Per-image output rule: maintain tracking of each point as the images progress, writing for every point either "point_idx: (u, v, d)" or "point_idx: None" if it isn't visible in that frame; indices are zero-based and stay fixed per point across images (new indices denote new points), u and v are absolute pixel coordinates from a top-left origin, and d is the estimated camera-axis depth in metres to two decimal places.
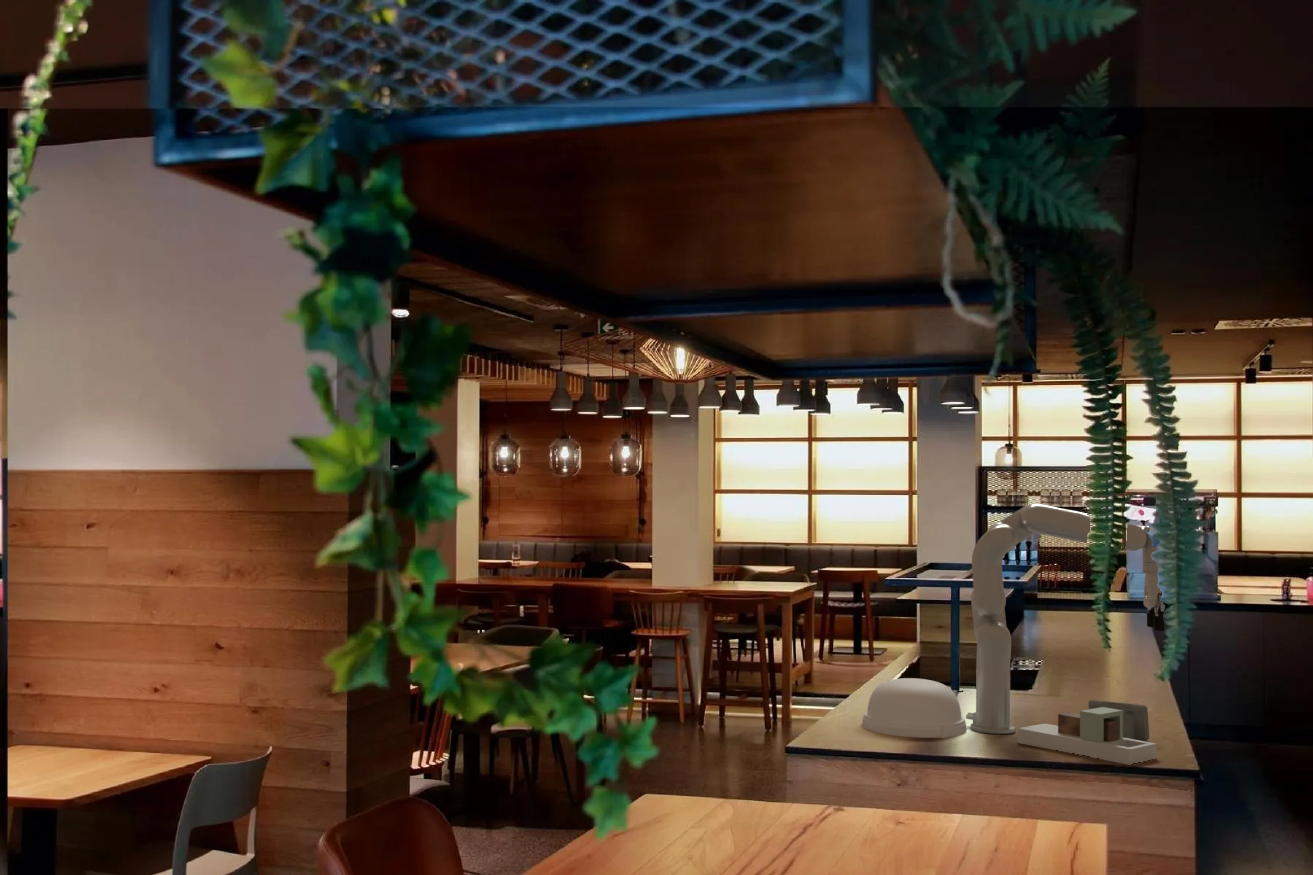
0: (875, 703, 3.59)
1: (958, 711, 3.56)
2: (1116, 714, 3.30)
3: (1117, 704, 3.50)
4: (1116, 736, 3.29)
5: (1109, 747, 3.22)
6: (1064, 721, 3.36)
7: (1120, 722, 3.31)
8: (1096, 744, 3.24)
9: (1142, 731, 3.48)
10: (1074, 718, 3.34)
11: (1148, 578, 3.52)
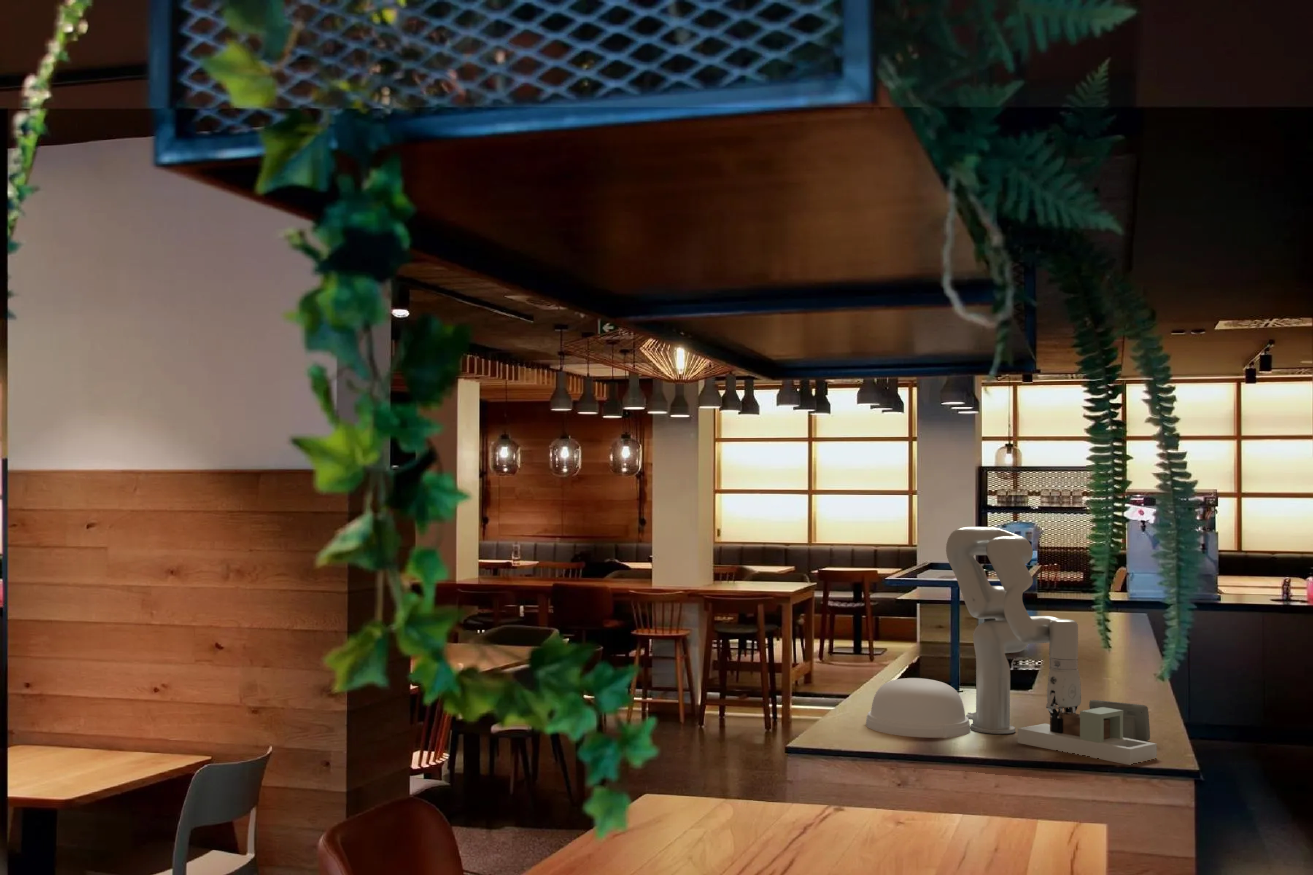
0: (878, 702, 3.59)
1: (961, 711, 3.56)
2: (1116, 714, 3.30)
3: (1118, 704, 3.50)
4: (1107, 734, 3.31)
5: (1109, 747, 3.22)
6: None
7: (1120, 722, 3.31)
8: (1096, 744, 3.24)
9: (1143, 731, 3.48)
10: (1066, 717, 3.36)
11: (1076, 675, 3.39)
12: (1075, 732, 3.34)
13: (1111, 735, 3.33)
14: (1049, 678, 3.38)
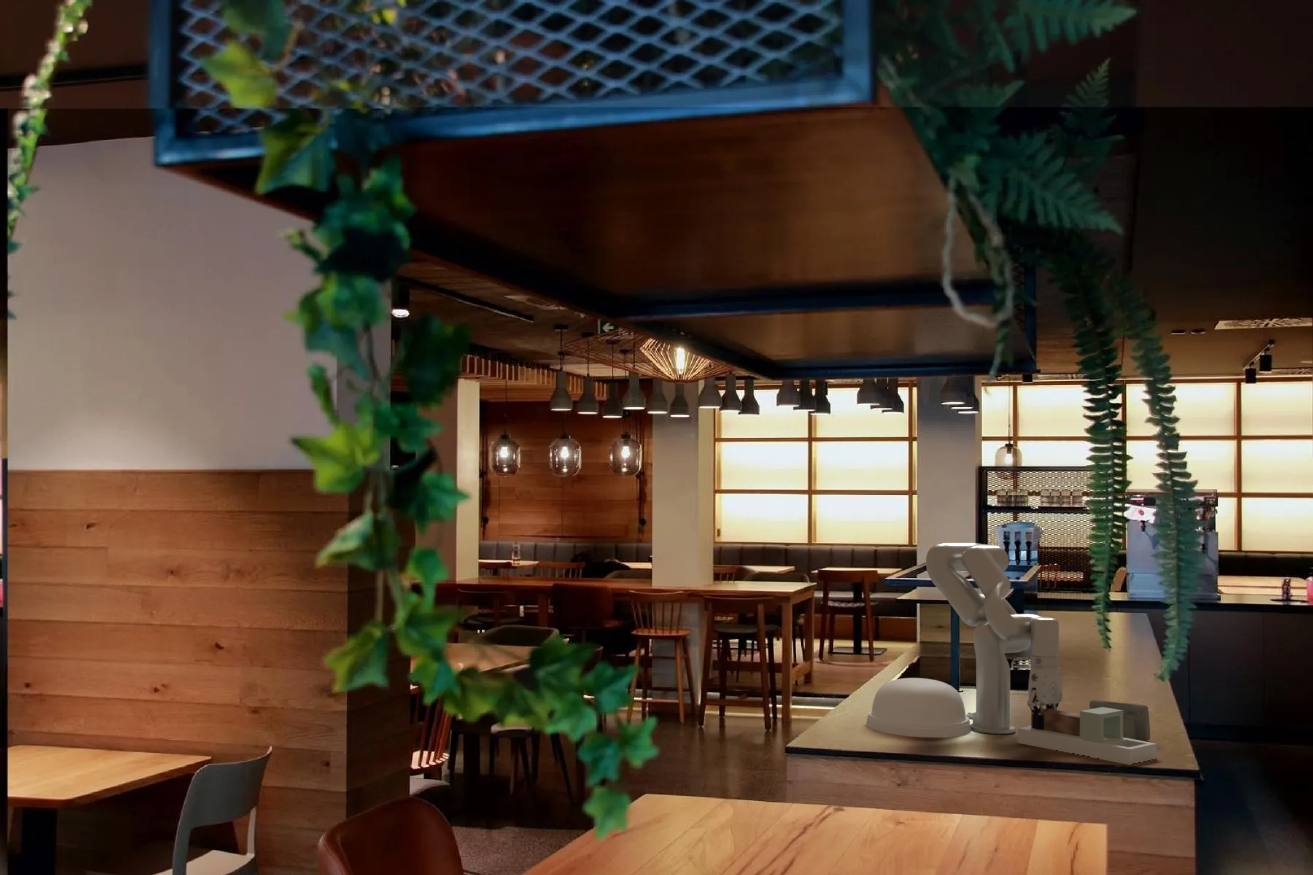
0: (878, 702, 3.60)
1: (962, 711, 3.56)
2: (1116, 714, 3.30)
3: (1118, 704, 3.50)
4: None
5: (1109, 747, 3.22)
6: None
7: (1120, 722, 3.31)
8: (1096, 744, 3.24)
9: (1143, 731, 3.48)
10: (1047, 713, 3.41)
11: (1057, 672, 3.44)
12: (1056, 728, 3.38)
13: (1111, 735, 3.33)
14: (1030, 675, 3.43)
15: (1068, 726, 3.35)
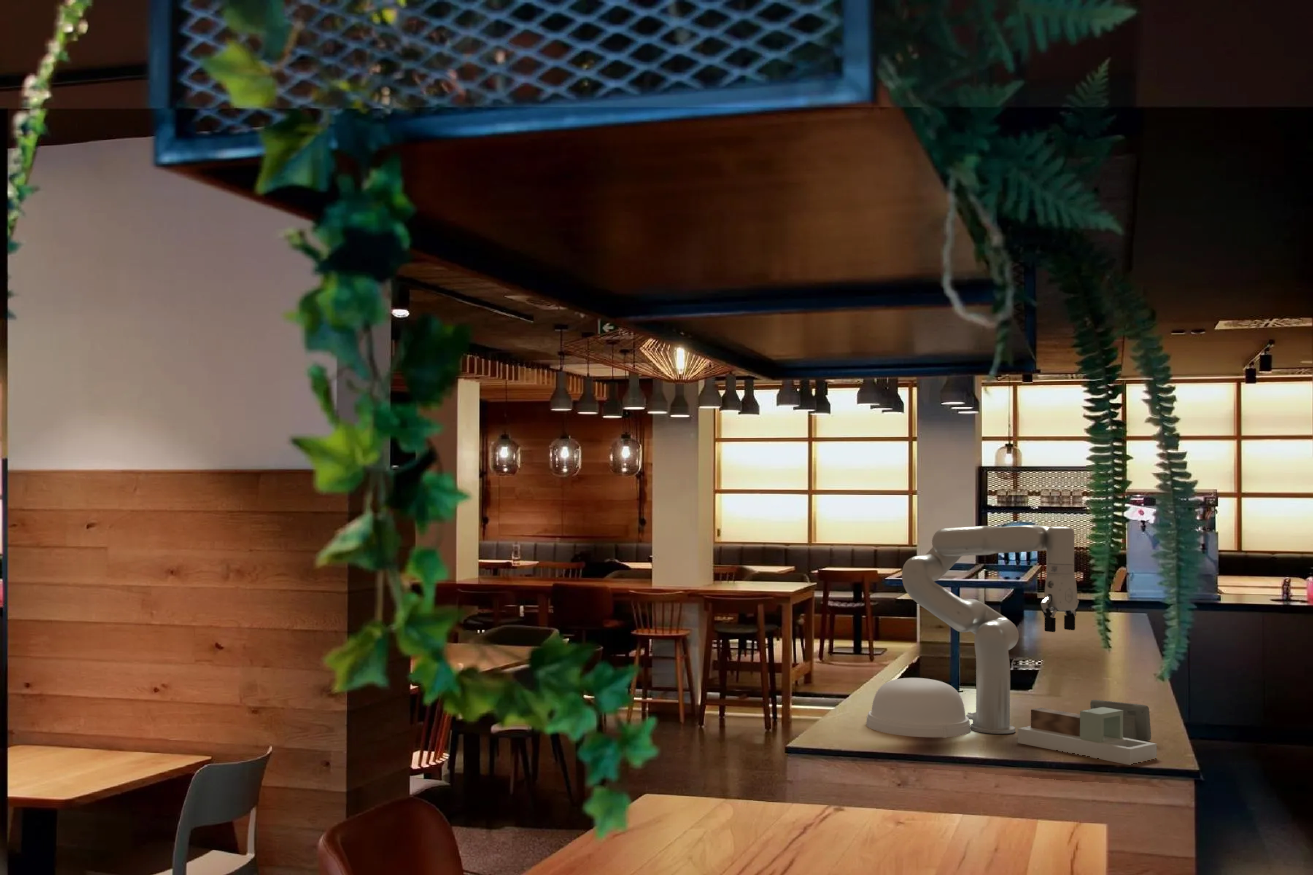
0: (878, 702, 3.60)
1: (961, 711, 3.56)
2: (1116, 714, 3.30)
3: (1119, 704, 3.50)
4: None
5: (1109, 747, 3.22)
6: (1036, 716, 3.43)
7: (1120, 722, 3.31)
8: (1096, 744, 3.24)
9: (1144, 731, 3.48)
10: (1046, 713, 3.41)
11: (1072, 580, 3.52)
12: (1055, 728, 3.38)
13: (1111, 735, 3.33)
14: (1046, 583, 3.50)
15: (1068, 726, 3.35)
